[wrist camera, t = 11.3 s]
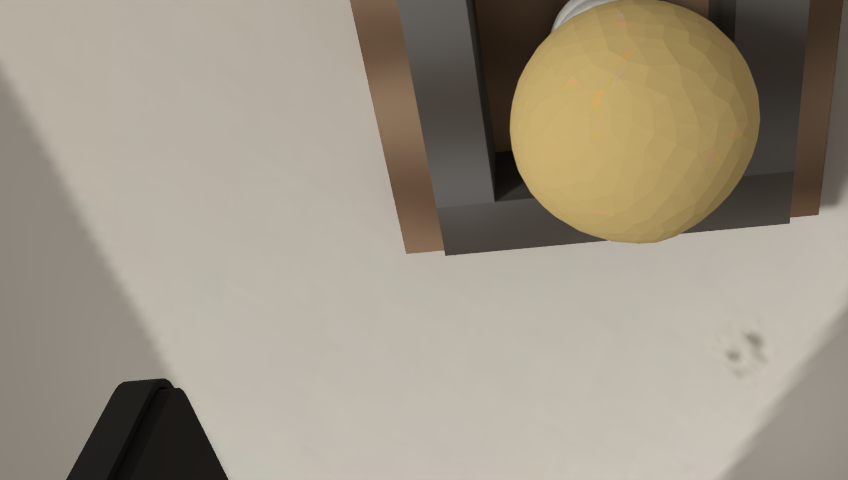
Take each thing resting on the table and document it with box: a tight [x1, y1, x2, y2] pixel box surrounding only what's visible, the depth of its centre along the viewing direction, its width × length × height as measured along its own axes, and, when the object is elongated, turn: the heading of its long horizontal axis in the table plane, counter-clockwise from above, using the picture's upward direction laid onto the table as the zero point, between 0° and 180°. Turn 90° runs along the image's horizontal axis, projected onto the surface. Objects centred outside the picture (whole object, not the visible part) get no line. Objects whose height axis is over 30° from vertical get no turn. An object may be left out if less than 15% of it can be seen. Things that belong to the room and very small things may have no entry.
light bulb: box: [510, 0, 760, 244], centre depth 23 cm, size 6×6×10 cm
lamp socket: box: [350, 0, 843, 256], centre depth 27 cm, size 16×16×5 cm
